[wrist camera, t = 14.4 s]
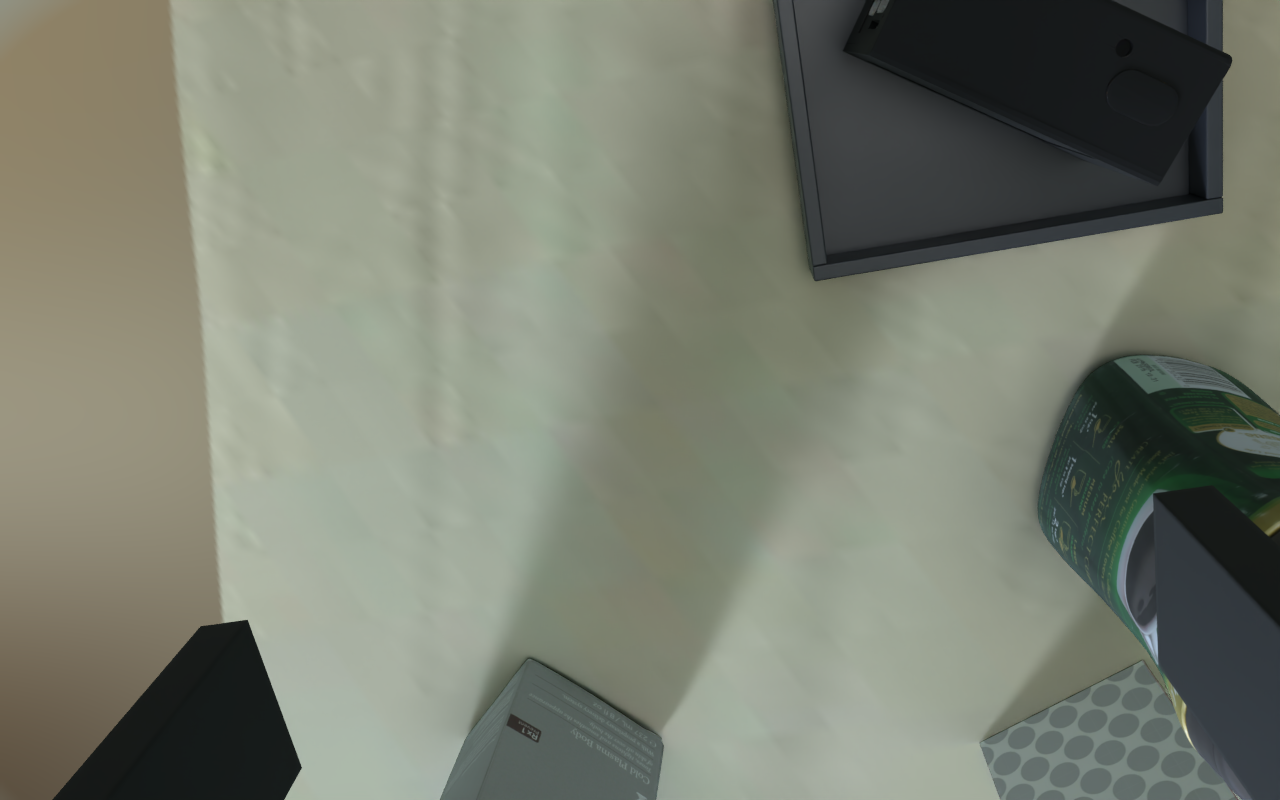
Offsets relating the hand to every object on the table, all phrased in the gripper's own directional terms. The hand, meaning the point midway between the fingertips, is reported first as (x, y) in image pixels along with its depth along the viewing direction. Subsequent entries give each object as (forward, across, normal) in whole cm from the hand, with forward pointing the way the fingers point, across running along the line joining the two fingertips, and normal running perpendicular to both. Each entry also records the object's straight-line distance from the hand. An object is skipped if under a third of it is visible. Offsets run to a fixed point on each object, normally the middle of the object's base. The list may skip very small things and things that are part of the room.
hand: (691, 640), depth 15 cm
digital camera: (+28, +12, +6) cm, 31 cm away
